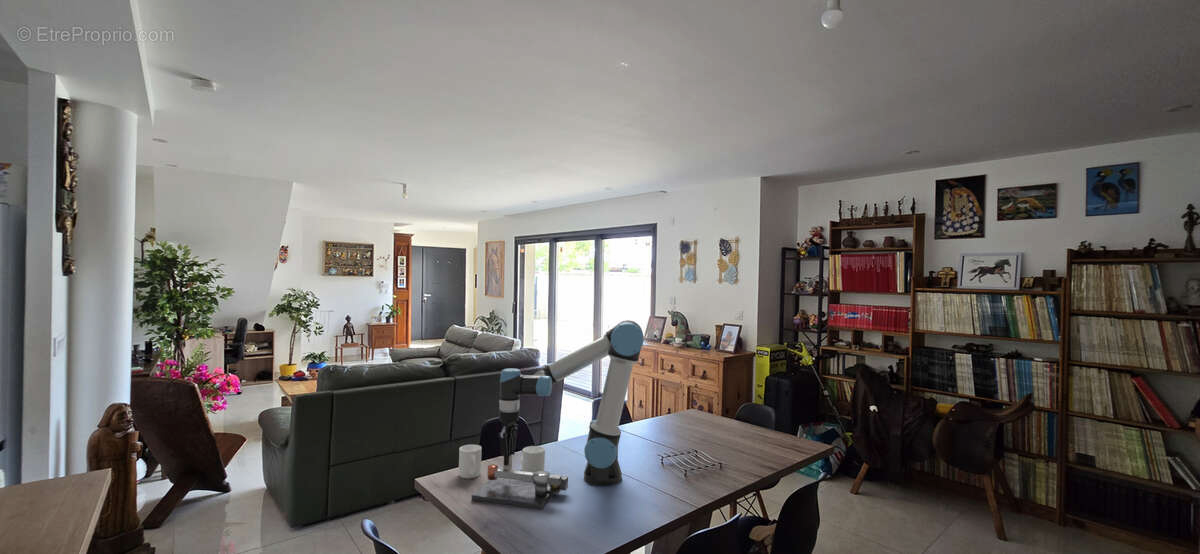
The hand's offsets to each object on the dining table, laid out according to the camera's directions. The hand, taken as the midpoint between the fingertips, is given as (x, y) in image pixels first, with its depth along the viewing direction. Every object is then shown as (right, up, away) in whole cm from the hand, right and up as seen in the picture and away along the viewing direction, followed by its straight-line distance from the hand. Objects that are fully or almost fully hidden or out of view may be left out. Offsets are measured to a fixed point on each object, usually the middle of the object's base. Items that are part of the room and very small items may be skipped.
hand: (507, 472), depth 185 cm
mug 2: (+7, -6, +17) cm, 19 cm away
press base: (+6, -5, -8) cm, 12 cm away
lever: (+7, 0, -8) cm, 11 cm away
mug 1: (-16, -6, +10) cm, 20 cm away
